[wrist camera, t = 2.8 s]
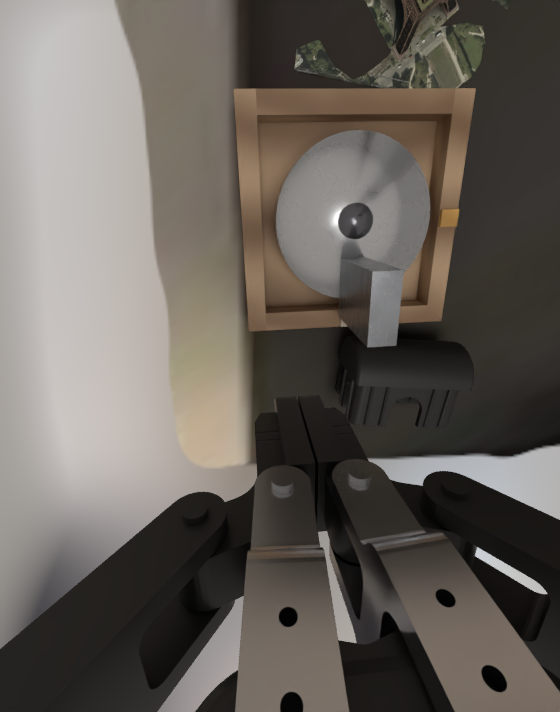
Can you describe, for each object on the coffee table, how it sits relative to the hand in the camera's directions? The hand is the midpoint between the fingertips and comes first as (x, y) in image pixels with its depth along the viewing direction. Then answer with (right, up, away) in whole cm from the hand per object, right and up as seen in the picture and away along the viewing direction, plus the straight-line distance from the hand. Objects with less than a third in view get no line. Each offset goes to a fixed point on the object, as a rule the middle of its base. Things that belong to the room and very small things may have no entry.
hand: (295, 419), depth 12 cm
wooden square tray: (+4, +13, +17) cm, 22 cm away
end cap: (+10, +2, +23) cm, 25 cm away
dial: (+5, +12, +15) cm, 20 cm away
